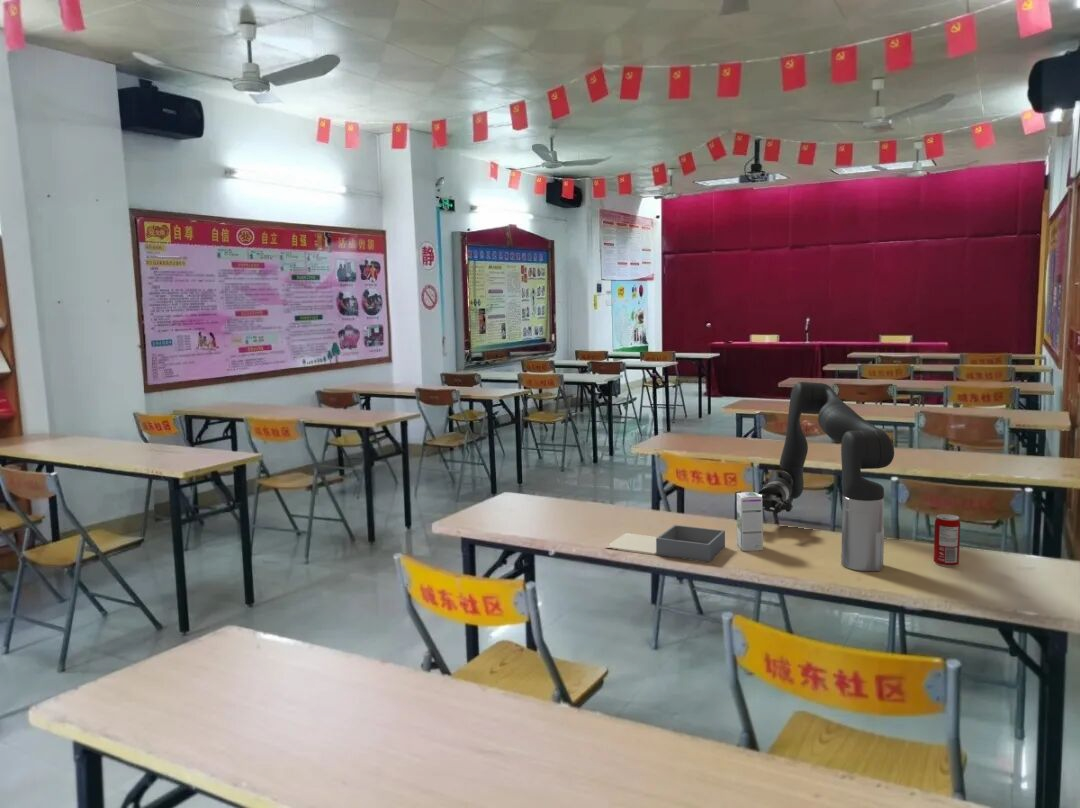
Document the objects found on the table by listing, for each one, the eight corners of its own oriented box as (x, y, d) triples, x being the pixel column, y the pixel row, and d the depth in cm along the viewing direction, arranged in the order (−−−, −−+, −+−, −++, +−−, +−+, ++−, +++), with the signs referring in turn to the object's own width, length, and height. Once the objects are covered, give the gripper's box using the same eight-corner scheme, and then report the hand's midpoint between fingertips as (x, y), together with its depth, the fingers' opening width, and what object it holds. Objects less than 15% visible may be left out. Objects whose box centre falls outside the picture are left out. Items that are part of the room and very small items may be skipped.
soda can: (946, 559, 195) (947, 511, 194) (964, 565, 190) (966, 517, 188) (928, 561, 193) (929, 514, 192) (945, 568, 188) (947, 519, 187)
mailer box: (724, 547, 209) (725, 530, 208) (709, 562, 197) (709, 544, 196) (625, 534, 223) (625, 519, 222) (605, 548, 211) (605, 531, 210)
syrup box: (763, 551, 205) (764, 496, 203) (740, 551, 205) (741, 497, 203) (757, 544, 211) (758, 491, 209) (735, 545, 211) (736, 492, 209)
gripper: (749, 481, 233) (734, 493, 219) (798, 485, 227) (786, 497, 213) (749, 506, 234) (734, 519, 220) (798, 510, 227) (786, 524, 213)
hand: (759, 508), depth 216 cm, fingers open, 8 cm apart
